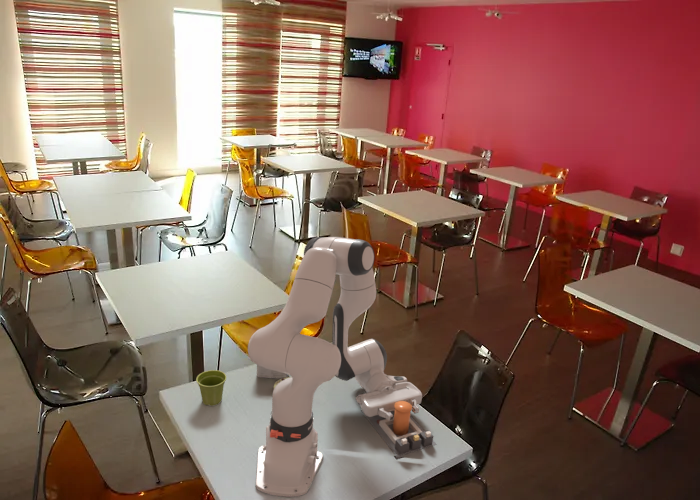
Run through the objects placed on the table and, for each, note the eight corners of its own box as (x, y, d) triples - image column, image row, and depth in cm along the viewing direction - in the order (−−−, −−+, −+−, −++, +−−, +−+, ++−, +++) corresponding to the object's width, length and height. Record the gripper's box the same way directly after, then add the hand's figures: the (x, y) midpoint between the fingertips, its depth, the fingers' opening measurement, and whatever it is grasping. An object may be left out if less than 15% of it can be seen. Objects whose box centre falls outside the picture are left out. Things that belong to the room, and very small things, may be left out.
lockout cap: (409, 437, 163) (412, 412, 160) (391, 435, 163) (394, 411, 160) (408, 425, 168) (411, 401, 165) (391, 424, 168) (394, 400, 165)
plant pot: (192, 398, 175) (191, 375, 172) (218, 388, 181) (218, 366, 178) (205, 413, 168) (204, 389, 166) (231, 402, 174) (231, 380, 171)
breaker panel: (436, 447, 161) (438, 433, 159) (396, 459, 155) (398, 445, 153) (397, 403, 180) (398, 390, 178) (360, 412, 174) (361, 399, 172)
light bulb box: (288, 369, 195) (289, 343, 191) (286, 379, 189) (287, 353, 185) (259, 367, 195) (259, 341, 191) (256, 377, 188) (256, 351, 185)
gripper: (354, 388, 168) (375, 414, 157) (408, 375, 177) (432, 399, 166) (352, 404, 170) (373, 431, 159) (406, 391, 179) (430, 415, 168)
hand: (404, 414), depth 162 cm, fingers open, 8 cm apart
